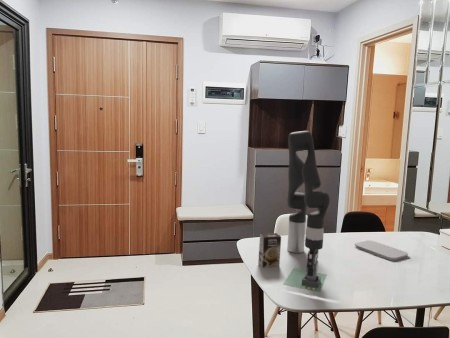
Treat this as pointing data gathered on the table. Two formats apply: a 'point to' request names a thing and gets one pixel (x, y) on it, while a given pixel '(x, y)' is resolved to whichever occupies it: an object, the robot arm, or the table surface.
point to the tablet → (381, 250)
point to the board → (304, 280)
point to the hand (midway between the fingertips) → (311, 272)
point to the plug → (314, 277)
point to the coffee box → (269, 250)
